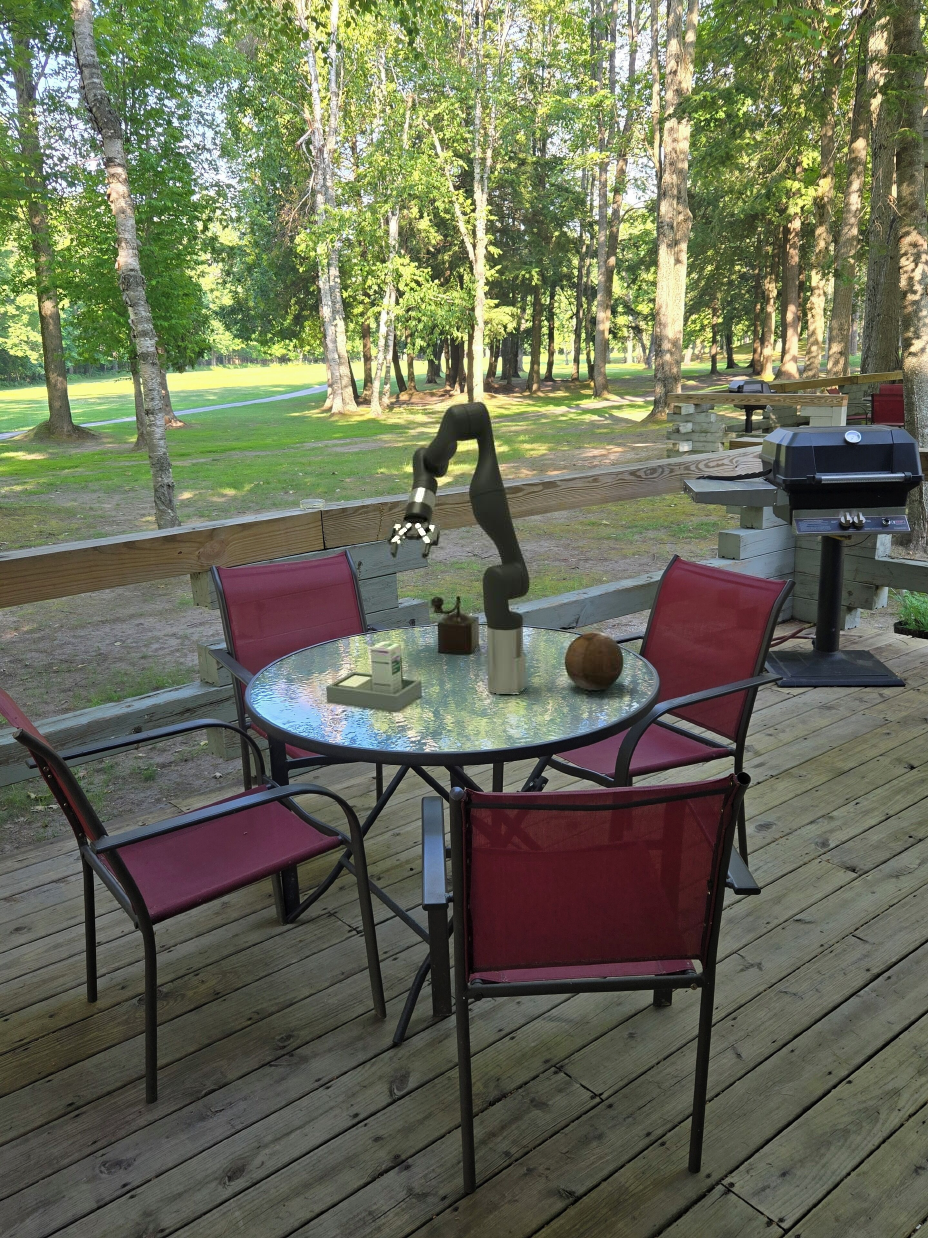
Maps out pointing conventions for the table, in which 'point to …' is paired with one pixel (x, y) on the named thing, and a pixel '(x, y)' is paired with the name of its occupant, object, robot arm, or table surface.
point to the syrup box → (387, 667)
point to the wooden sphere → (594, 661)
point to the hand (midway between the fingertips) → (408, 556)
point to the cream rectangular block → (358, 683)
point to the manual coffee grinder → (456, 630)
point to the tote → (374, 695)
